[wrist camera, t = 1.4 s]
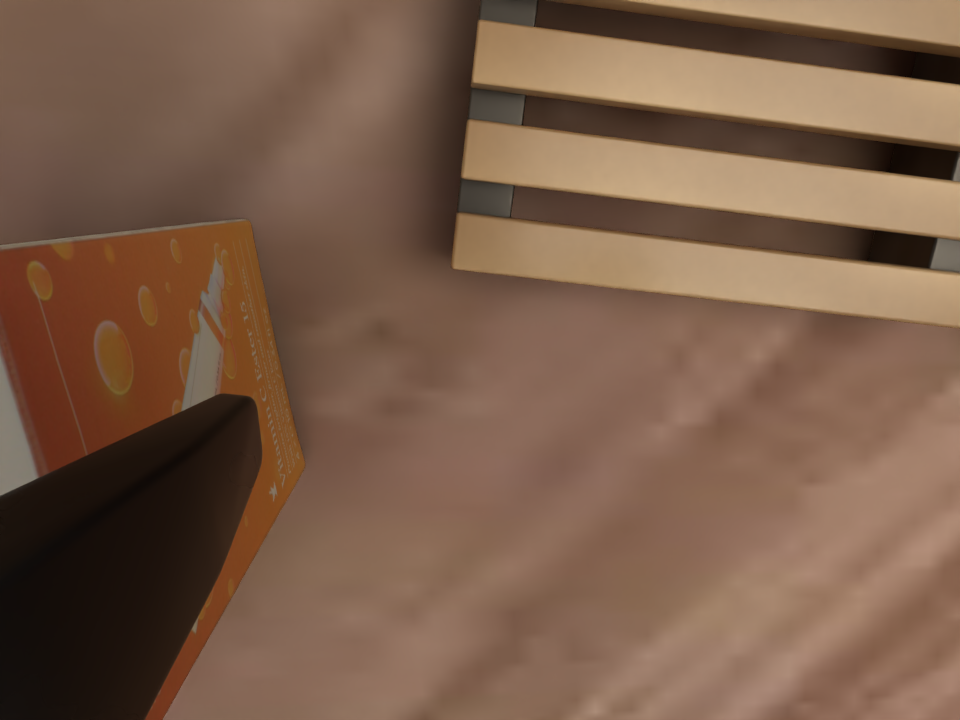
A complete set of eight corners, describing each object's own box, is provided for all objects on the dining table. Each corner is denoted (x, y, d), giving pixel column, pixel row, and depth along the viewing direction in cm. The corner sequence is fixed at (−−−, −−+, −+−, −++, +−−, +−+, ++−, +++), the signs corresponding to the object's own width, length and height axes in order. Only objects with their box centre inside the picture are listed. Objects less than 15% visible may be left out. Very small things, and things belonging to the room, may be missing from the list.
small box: (311, 467, 23) (139, 793, 11) (115, 497, 24) (-286, 858, 11) (255, 211, 22) (-33, 242, 9) (42, 244, 22) (-543, 323, 9)
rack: (899, 311, 23) (1067, 358, 17) (451, 258, 22) (448, 286, 16) (999, -90, 20) (1243, -215, 14) (498, -165, 20) (517, -333, 13)
